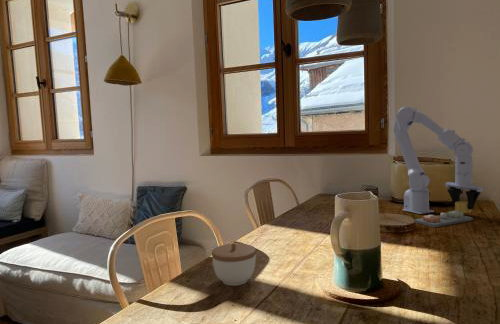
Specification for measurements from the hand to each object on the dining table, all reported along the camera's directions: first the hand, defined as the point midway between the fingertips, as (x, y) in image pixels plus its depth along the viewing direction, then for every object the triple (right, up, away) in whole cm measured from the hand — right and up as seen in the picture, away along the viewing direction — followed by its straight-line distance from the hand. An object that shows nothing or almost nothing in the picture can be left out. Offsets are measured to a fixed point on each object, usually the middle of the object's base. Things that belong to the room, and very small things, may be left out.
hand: (463, 207), depth 145 cm
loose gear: (0, -1, 0) cm, 1 cm away
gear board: (-11, -4, -7) cm, 14 cm away
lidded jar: (-87, -12, -54) cm, 103 cm away
